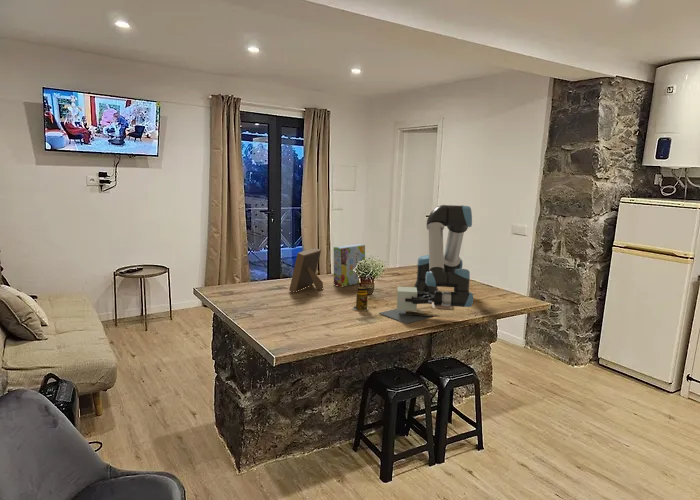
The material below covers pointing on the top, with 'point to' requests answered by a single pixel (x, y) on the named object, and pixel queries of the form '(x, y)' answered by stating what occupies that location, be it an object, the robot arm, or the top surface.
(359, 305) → the condiment
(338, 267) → the snack box
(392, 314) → the rubber mat
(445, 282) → the robot arm
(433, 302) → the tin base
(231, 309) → the top surface
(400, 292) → the pale sage matte cube
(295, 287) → the photo frame
